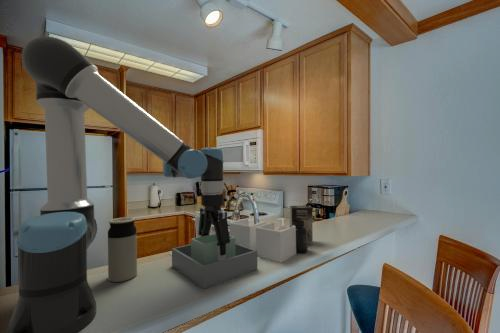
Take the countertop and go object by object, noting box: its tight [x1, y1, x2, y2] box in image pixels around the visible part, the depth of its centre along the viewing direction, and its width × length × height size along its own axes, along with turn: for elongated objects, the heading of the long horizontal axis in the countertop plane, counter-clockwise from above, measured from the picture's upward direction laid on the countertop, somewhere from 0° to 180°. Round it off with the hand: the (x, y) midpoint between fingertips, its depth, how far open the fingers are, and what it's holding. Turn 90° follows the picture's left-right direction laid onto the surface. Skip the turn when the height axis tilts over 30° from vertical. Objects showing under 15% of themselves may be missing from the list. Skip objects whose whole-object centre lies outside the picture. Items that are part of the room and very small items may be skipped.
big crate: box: [171, 243, 258, 290], centre depth 83 cm, size 20×22×6 cm
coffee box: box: [289, 205, 314, 246], centre depth 108 cm, size 9×6×16 cm
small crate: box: [190, 233, 236, 266], centre depth 83 cm, size 12×9×8 cm
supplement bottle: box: [292, 220, 309, 254], centre depth 98 cm, size 7×7×12 cm
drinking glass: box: [194, 213, 213, 238], centre depth 98 cm, size 7×7×15 cm
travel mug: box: [107, 216, 138, 283], centre depth 77 cm, size 8×8×18 cm
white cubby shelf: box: [228, 218, 297, 263], centre depth 98 cm, size 25×11×11 cm, turn 51°
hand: (213, 260), depth 83 cm, fingers closed on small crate, 9 cm apart
